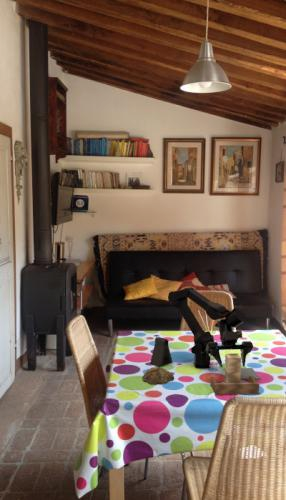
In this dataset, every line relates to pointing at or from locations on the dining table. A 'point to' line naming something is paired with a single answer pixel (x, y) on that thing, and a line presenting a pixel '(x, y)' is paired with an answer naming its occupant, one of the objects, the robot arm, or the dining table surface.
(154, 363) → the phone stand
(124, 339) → the dining table surface
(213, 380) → the nook
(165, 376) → the bread roll
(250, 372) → the mat
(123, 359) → the dining table surface
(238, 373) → the maple block
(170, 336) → the dining table surface
